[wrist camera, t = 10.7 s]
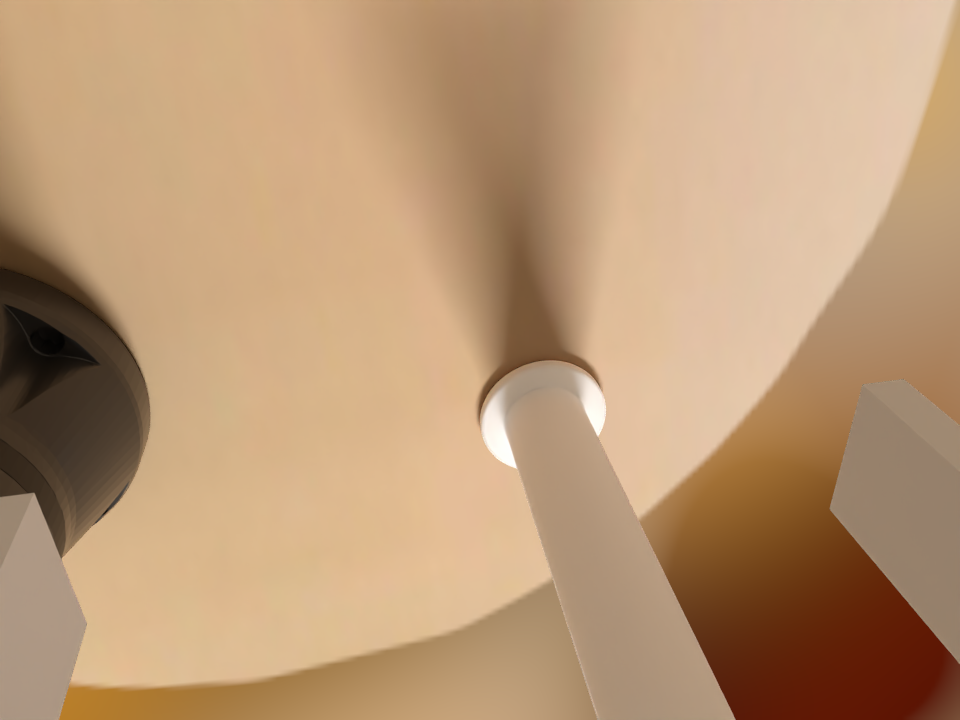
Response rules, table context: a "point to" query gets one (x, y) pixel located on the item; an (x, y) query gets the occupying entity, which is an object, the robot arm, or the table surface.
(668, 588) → the candle
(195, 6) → the table surface
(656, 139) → the table surface
